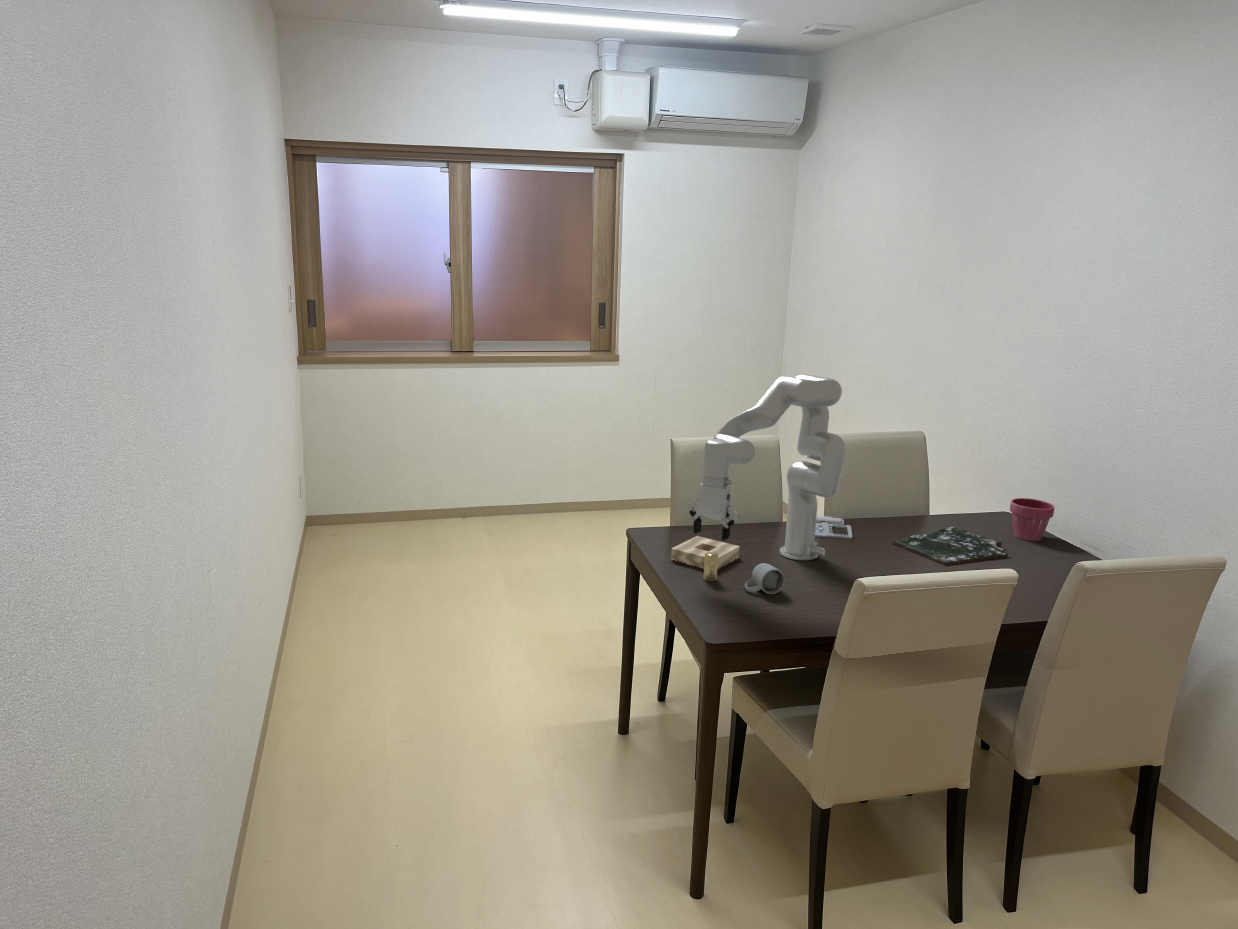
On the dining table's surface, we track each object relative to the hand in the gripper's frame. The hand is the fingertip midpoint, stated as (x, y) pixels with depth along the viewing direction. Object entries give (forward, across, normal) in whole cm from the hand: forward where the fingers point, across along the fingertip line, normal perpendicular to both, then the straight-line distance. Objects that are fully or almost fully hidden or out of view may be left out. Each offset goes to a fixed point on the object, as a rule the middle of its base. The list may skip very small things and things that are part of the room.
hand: (711, 535), depth 259 cm
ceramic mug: (+14, -17, -3) cm, 22 cm away
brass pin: (+14, 0, -1) cm, 14 cm away
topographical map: (+13, -52, -79) cm, 95 cm away
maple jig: (+14, +10, -15) cm, 22 cm away
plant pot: (+11, -69, -109) cm, 130 cm away
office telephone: (+13, -7, -71) cm, 72 cm away
